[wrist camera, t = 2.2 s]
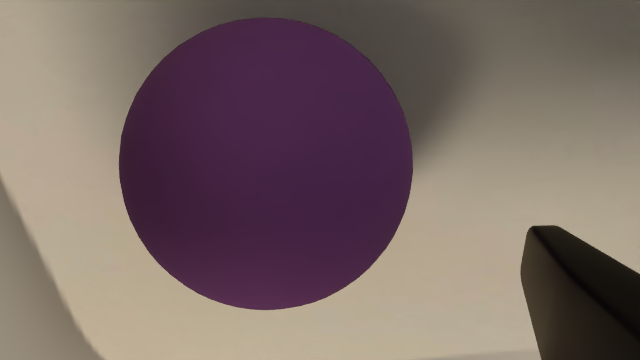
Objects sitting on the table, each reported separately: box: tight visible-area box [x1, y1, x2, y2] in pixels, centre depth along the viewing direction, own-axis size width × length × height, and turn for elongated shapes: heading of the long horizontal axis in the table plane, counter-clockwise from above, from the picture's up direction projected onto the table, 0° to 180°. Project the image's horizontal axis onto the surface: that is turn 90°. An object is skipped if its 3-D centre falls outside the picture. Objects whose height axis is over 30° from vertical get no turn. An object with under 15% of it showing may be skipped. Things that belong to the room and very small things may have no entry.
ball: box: [119, 18, 413, 310], centre depth 11 cm, size 6×6×6 cm
